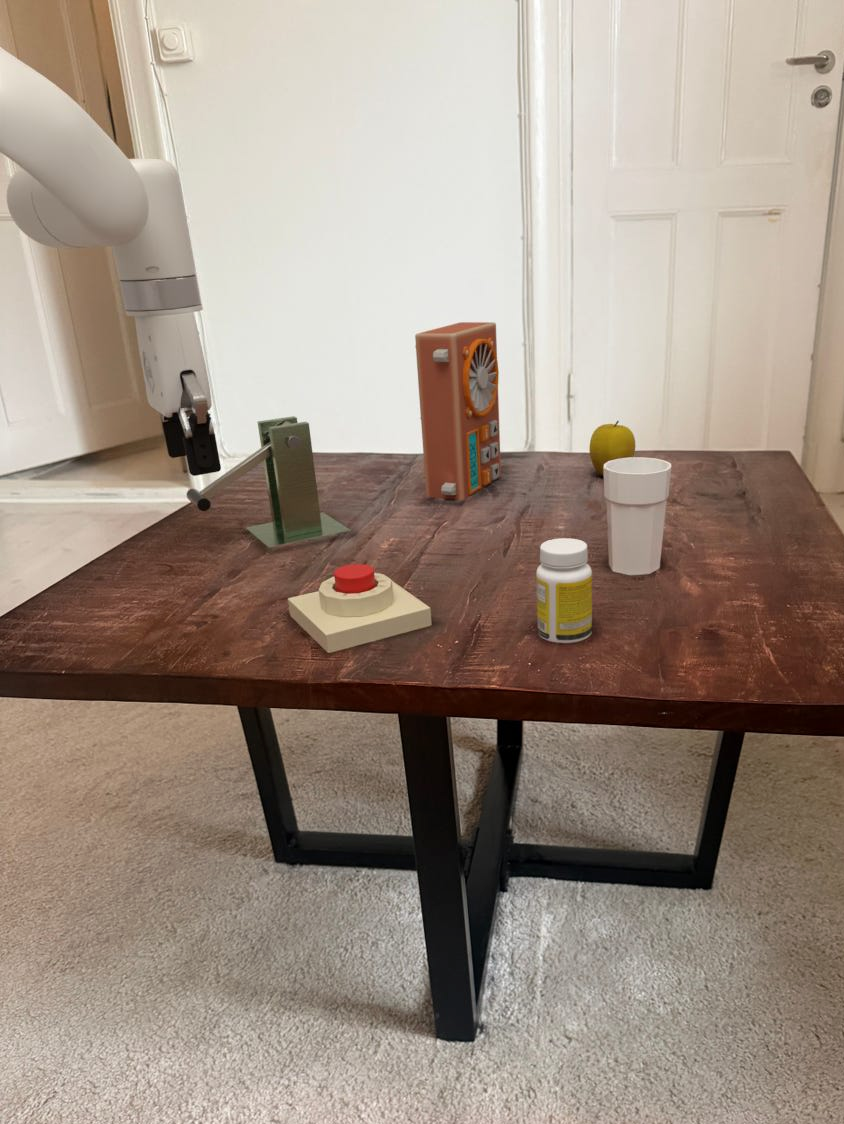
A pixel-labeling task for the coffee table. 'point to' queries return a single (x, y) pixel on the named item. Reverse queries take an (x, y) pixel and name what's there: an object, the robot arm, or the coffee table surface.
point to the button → (354, 579)
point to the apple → (610, 445)
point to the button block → (358, 614)
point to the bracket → (291, 486)
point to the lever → (229, 477)
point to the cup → (636, 512)
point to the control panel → (459, 408)
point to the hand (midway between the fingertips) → (194, 463)
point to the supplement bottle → (564, 591)
